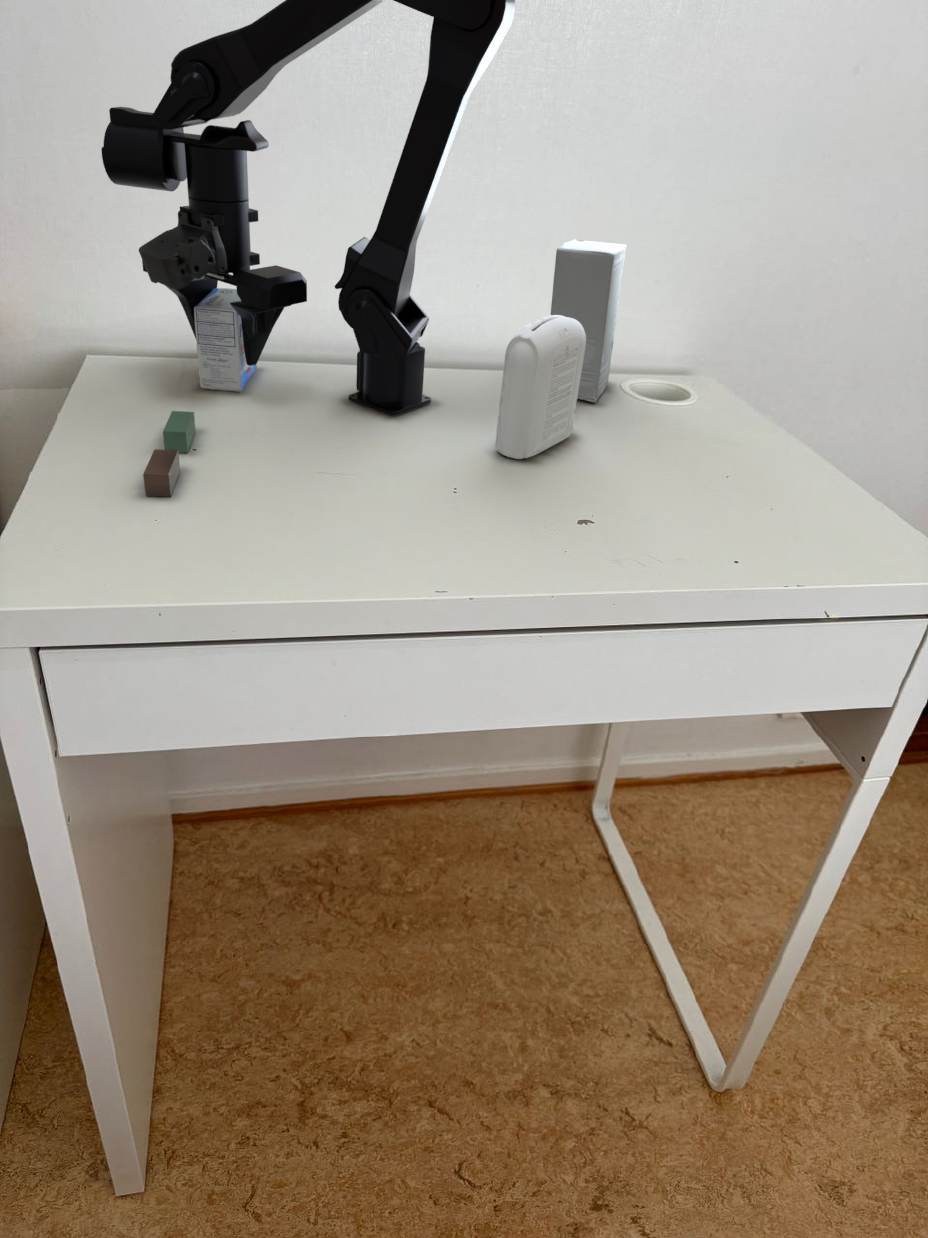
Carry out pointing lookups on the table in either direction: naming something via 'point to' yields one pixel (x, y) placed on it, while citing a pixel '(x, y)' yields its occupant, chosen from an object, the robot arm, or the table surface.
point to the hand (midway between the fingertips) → (227, 355)
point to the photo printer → (540, 386)
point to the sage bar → (179, 431)
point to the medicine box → (221, 342)
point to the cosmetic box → (590, 303)
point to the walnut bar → (161, 473)
